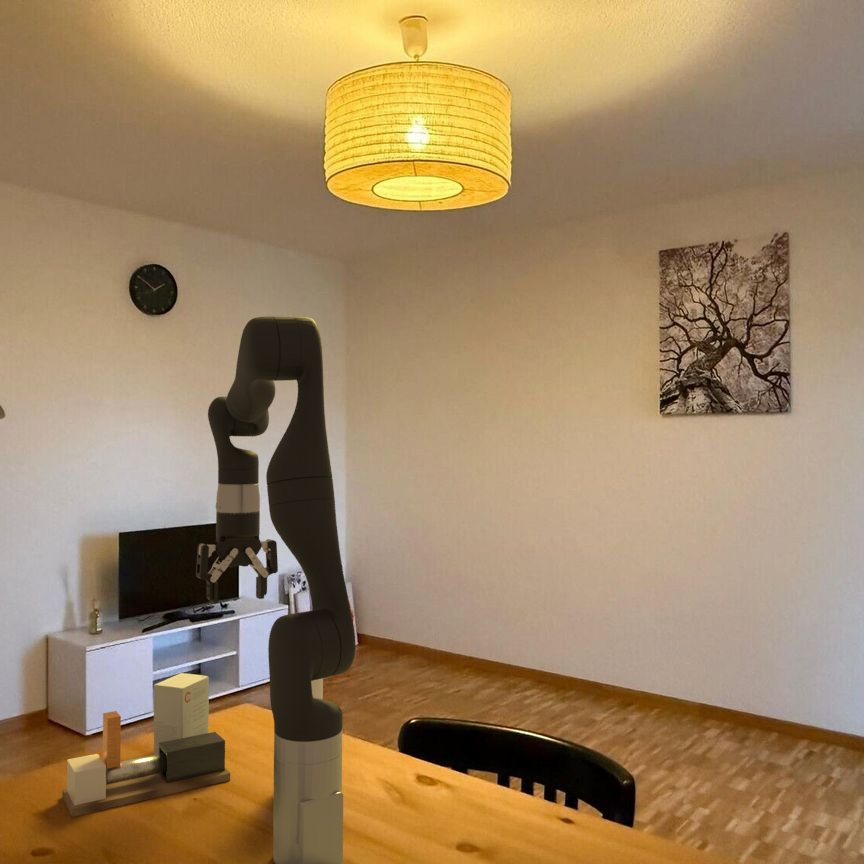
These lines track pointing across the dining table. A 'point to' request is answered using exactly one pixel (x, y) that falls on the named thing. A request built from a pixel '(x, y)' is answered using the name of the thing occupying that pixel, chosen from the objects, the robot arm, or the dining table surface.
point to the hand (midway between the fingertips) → (237, 600)
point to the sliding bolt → (127, 768)
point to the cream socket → (86, 779)
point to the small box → (180, 708)
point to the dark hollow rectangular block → (193, 756)
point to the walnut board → (142, 791)
